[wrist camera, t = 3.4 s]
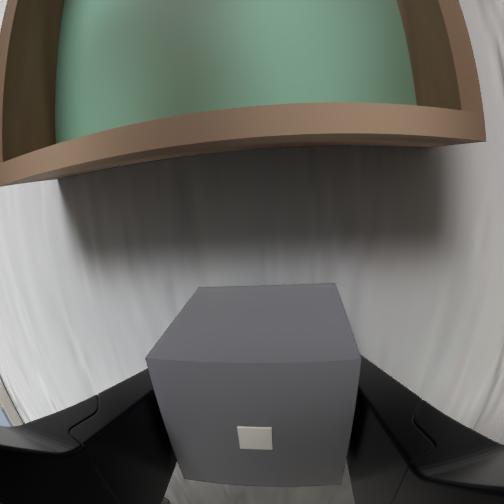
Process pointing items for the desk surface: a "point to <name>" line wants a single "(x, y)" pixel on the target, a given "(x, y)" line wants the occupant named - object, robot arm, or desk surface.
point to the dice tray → (227, 79)
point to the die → (259, 385)
